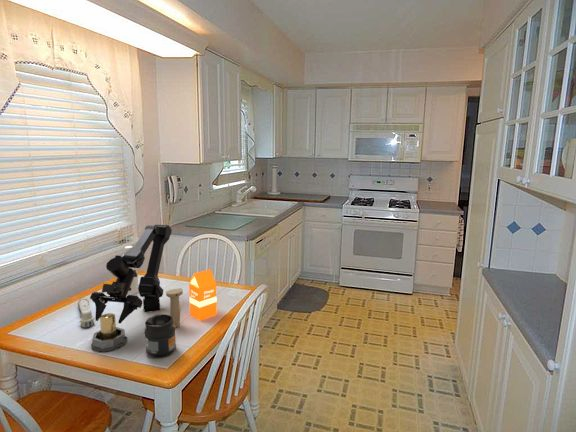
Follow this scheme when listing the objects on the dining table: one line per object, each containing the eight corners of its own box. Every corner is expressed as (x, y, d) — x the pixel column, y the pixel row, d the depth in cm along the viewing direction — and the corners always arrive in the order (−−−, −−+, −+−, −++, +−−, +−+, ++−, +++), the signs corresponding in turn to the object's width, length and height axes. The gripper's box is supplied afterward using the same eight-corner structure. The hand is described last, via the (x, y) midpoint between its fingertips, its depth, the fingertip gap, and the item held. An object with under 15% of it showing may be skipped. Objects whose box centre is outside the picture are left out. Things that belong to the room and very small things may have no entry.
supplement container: (181, 345, 139) (180, 315, 137) (166, 361, 129) (165, 328, 127) (156, 341, 142) (154, 312, 139) (139, 356, 131) (137, 324, 129)
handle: (185, 326, 154) (184, 291, 151) (170, 330, 150) (168, 295, 147) (181, 321, 158) (179, 287, 155) (165, 325, 154) (164, 291, 151)
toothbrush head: (88, 296, 173) (93, 309, 151) (90, 310, 173) (95, 325, 152) (75, 298, 170) (79, 312, 149) (77, 312, 170) (80, 328, 149)
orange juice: (217, 314, 165) (216, 271, 161) (199, 321, 159) (198, 276, 155) (206, 309, 170) (205, 266, 166) (189, 315, 164) (188, 271, 160)
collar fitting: (127, 333, 147) (127, 324, 146) (125, 349, 136) (125, 339, 135) (93, 338, 143) (93, 328, 142) (88, 354, 132) (88, 344, 131)
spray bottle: (123, 290, 189) (120, 242, 184) (138, 288, 192) (135, 241, 187) (124, 295, 183) (121, 246, 179) (138, 293, 186) (136, 244, 181)
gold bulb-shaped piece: (114, 336, 143) (112, 311, 142) (120, 341, 140) (118, 316, 138) (98, 341, 140) (96, 316, 138) (104, 347, 136) (102, 321, 134)
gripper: (90, 271, 141) (72, 311, 133) (136, 275, 138) (120, 316, 130) (105, 284, 151) (89, 322, 142) (148, 287, 148) (134, 327, 139)
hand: (107, 321), depth 138 cm, fingers open, 9 cm apart
